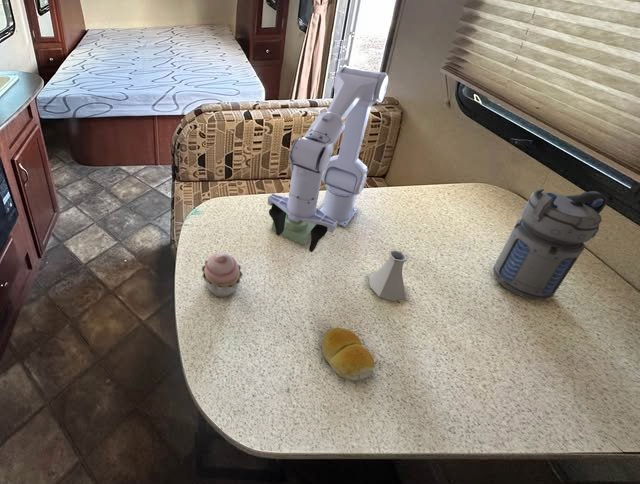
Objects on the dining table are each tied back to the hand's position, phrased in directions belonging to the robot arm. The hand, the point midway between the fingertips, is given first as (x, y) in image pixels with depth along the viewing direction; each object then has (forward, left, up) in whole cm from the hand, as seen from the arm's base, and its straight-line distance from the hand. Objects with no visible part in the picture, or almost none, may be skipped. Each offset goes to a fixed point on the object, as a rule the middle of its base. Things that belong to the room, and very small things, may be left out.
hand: (295, 241), depth 83 cm
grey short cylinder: (-14, -6, -6) cm, 16 cm away
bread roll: (+12, +17, -10) cm, 23 cm away
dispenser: (-16, -6, -10) cm, 20 cm away
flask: (-10, +18, -10) cm, 23 cm away
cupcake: (+14, -10, -10) cm, 20 cm away
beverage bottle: (-31, +40, -10) cm, 52 cm away
